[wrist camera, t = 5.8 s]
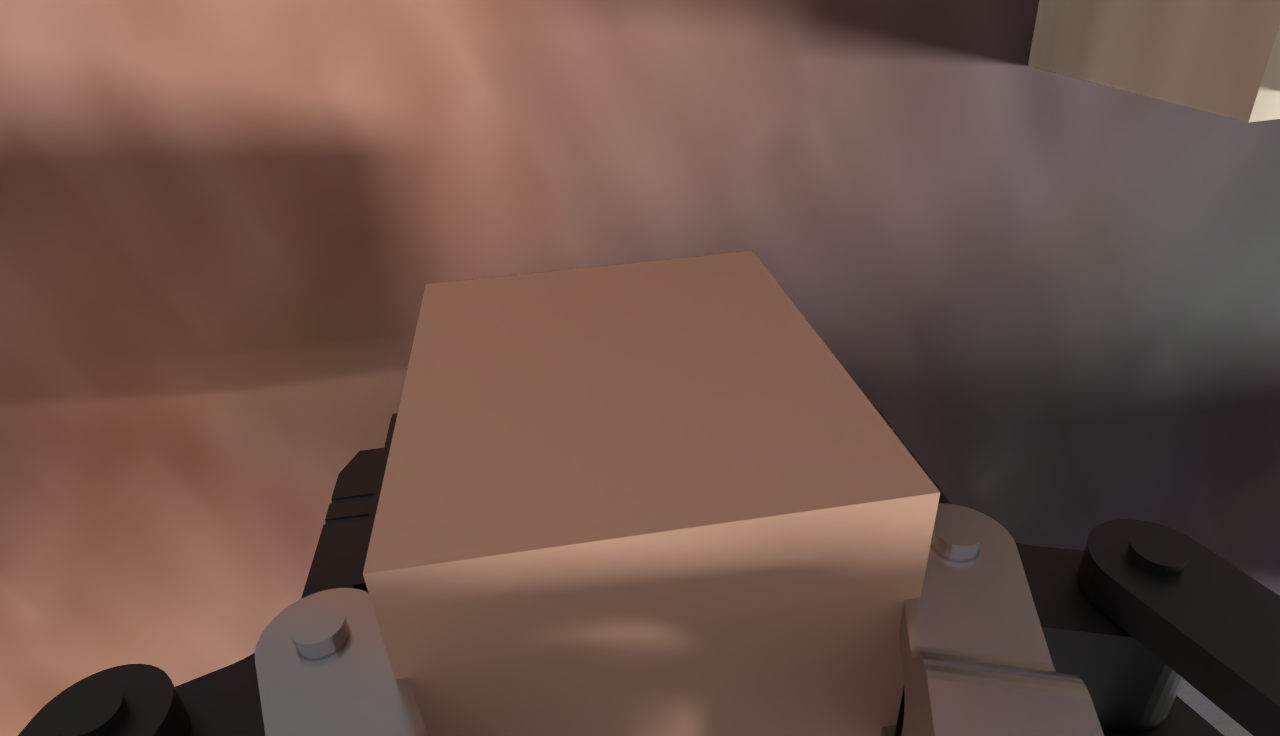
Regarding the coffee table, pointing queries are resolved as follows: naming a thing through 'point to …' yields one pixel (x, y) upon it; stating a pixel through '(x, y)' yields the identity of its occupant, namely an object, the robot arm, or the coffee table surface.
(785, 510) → the tan block
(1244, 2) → the maple base block
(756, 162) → the coffee table surface
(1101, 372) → the coffee table surface
